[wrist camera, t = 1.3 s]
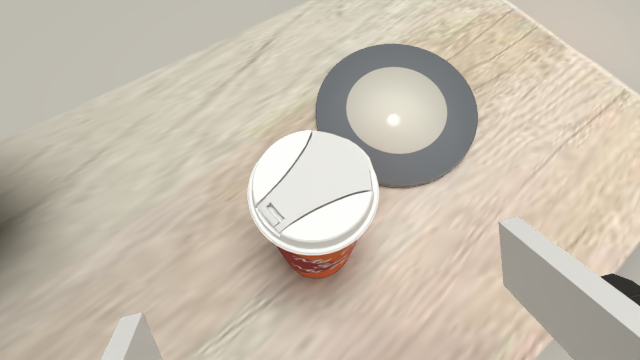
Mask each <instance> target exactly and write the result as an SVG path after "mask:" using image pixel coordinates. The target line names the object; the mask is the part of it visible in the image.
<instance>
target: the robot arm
mask: <svg viewBox="0 0 640 360" xmlns="http://www.w3.org/2000/svg"><path fill="white" fill-rule="evenodd" d="M499 234H500V246H501V258H502V270H503V282H504V286H505V287H506V288H507V289H508V290H509V291H510V292H511V293H512V294H513V295H514V297H515V298H516V299H517V300H518V301H519V302H520V303H521V304H522V305H523V306H524V307H525V308H526V309H527V310H528V311H529V312H530V314H531V315H532V316H533V317H534V318H535V319H536V320H537V321H538V322H539V323H540V324H541V325H542V326H543V327H544V328H545V330H546V331H547V332H548V333H549V334H550V335H551V336H552V337H553V338H554V339H555V340H556V341H557V342H558V343H559V344H560V345H561V346H562V348H563V349H564V350H565V351H566V352H567V353H568V354H569V355H570V356H571V357H572V358H573V359H574V360H640V286H639V285H637V284H636V283H634V282H633V281H631V280H628V279H626V278H623V277H620V276H618V275H615V274H609V275H605V276H601V277H600V276H598V275H597V274H596V273H594V272H593V271H591V270H590V269H589V268H587V267H586V266H585V265H583V264H582V263H581V262H579V261H578V260H576V259H575V258H574V257H572V256H571V255H570V254H568V253H567V252H566V251H564V250H563V249H562V248H560V247H559V246H557V245H556V244H555V243H553V242H552V241H551V240H549V239H548V238H547V237H545V236H544V235H543V234H541V233H540V232H538V231H537V230H536V229H534V228H533V227H532V226H530V225H529V224H528V223H526V222H525V221H524V220H522V219H521V218H519V217H515V218H511V219H508V220H504V221H500V222H499ZM101 360H163V359H162V357H161V354H160V352H159V350H158V347H157V345H156V342H155V340H154V338H153V335H152V333H151V330H150V328H149V326H148V323H147V321H146V318H145V316H144V314H143V312H141V313H137V314H133V315H129V316H125V317H121V319H120V321H119V323H118V325H117V327H116V329H115V332H114V334H113V336H112V338H111V340H110V342H109V344H108V346H107V348H106V350H105V352H104V354H103V356H102V359H101Z"/></svg>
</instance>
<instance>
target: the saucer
mask: <svg viewBox="0 0 640 360" xmlns="http://www.w3.org/2000/svg"><path fill="white" fill-rule="evenodd" d="M316 119H317V127H318V131H321V132H326V133H330V134H334V135H337V136H340V137H342V138H345V139H348V140H350V141H352V142H353V143H355V144H356V145H357V146H359V147H360V148H361V149H362V150H363V151H364V152H365V153H366V154H367V155H368V157H369V158H370V161H371V164H372V167H373V169H374V171H375V174H376V177H377V181H378V185H380V186H385V187H392V188H406V187H415V186H419V185H424V184H427V183H429V182H432V181H435V180H437V179H439V178H440V177H442V176H444V175H445V174H447V173H448V172H450V171H451V170H452V169H453V168H454V167H455V166H456V165H457V164H458V163H459V162H460V161H461V160H462V158H463V157H464V156H465V154H466V153H467V151H468V149H469V148H470V146H471V144H472V142H473V140H474V137H475V134H476V129H477V124H478V112H477V105H476V101H475V98H474V95H473V93H472V90H471V88H470V87H469V85H468V83H467V82H466V80H465V79H464V77H463V76H462V75H461V74H460V73H459V72H458V71H457V70H456V69H455V68H454V67H453V66H452V65H451V64H450V63H448V62H447V61H446V60H444V59H443V58H441V57H439V56H438V55H436V54H434V53H431V52H429V51H427V50H424V49H421V48H418V47H414V46H409V45H402V44H383V45H376V46H371V47H367V48H364V49H361V50H359V51H356V52H354V53H352V54H350V55H349V56H347V57H345V58H344V59H343V60H341V61H340V62H339V63H338V64H336V65H335V66H334V67H333V69H332V70H331V71H330V72H329V73H328V75H327V76H326V77H325V79H324V81H323V83H322V85H321V87H320V90H319V93H318V97H317V103H316Z"/></svg>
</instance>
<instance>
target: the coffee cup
mask: <svg viewBox="0 0 640 360" xmlns="http://www.w3.org/2000/svg"><path fill="white" fill-rule="evenodd" d="M247 197H248V206H249V209H250V213H251V216H252V218H253V220H254V222H255V224H256V226H257V227H258V228H259V230H260V231H261V233H262V234H263V235H264V236H265V237H266V238H267V239H268V240H270V241H271V242H272V243H274V244H275V245H276V246H277V247H278V249H279V250H280V252H281V253H282V255H283V256H284V257H285V259H286V260H287V262H288V263H289V264H290V265H291V266H292V267H293V268H294V269H295V270H296V271H297V272H299V273H300V274H302V275H304V276H307V277H311V278H322V277H327V276H329V275H332V274H334V273H335V272H337V271H338V270H339V269H340V268H341V267H342V266H343V265H344V264H345V262H346V261H347V259H348V257H349V255H350V253H351V251H352V250H353V247H354V245H355V243H356V241H357V239H358V238H359V237H360V236H361V235H362V234H363V233H364V232H365V231H366V229H367V228H368V227H369V225H370V224H371V222H372V220H373V218H374V215H375V213H376V209H377V206H378V199H379V186H378V181H377V177H376V174H375V171H374V169H373V167H372V164H371V161H370V158H369V157H368V155H367V154H366V153H365V152H364V151H363V150H362V149H361V148H360V147H359V146H357V145H356V144H355V143H353V142H352V141H350V140H348V139H345V138H342V137H340V136H337V135H334V134H330V133H326V132H321V131H314V130H306V131H299V132H296V133H293V134H290V135H287V136H285V137H283V138H281V139H280V140H278V141H277V142H275V143H274V144H273V145H272V146H270V147H269V148H268V149H267V150H266V152H265V153H264V154H263V155H262V157H261V158H260V159H259V160H258V162H257V164H256V165H255V167H254V169H253V171H252V174H251V176H250V180H249V184H248V195H247Z"/></svg>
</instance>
